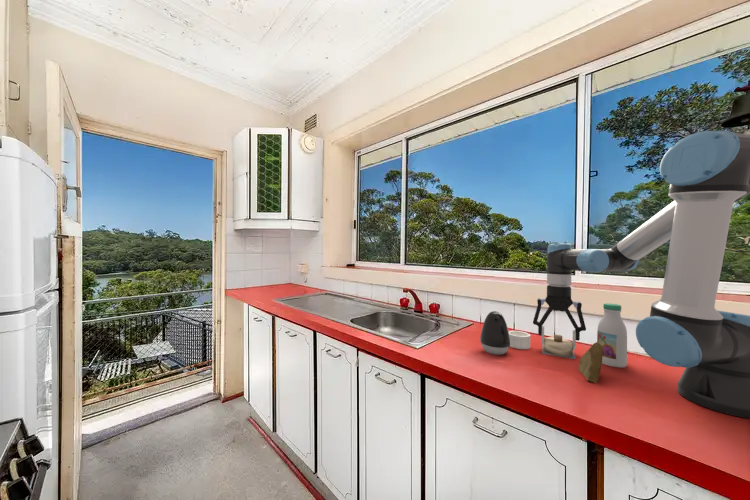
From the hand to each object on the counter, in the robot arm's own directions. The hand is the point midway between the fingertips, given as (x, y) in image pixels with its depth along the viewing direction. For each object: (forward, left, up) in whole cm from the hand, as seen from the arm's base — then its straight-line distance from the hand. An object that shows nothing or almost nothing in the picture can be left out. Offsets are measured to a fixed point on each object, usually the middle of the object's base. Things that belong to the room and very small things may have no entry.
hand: (558, 346), depth 104 cm
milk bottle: (-2, -15, -3) cm, 15 cm away
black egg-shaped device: (-12, +20, -3) cm, 23 cm away
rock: (-17, -7, -3) cm, 19 cm away
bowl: (0, +13, -2) cm, 13 cm away
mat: (0, 0, -2) cm, 2 cm away
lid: (0, 0, -2) cm, 2 cm away
